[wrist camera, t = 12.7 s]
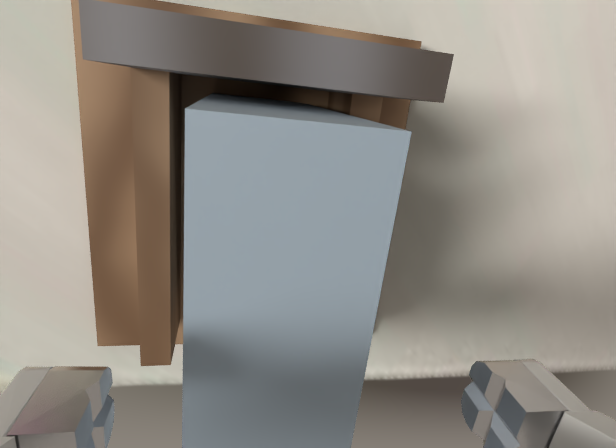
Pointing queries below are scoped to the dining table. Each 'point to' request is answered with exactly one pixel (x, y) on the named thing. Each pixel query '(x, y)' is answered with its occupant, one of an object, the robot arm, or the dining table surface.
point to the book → (282, 268)
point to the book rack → (171, 129)
